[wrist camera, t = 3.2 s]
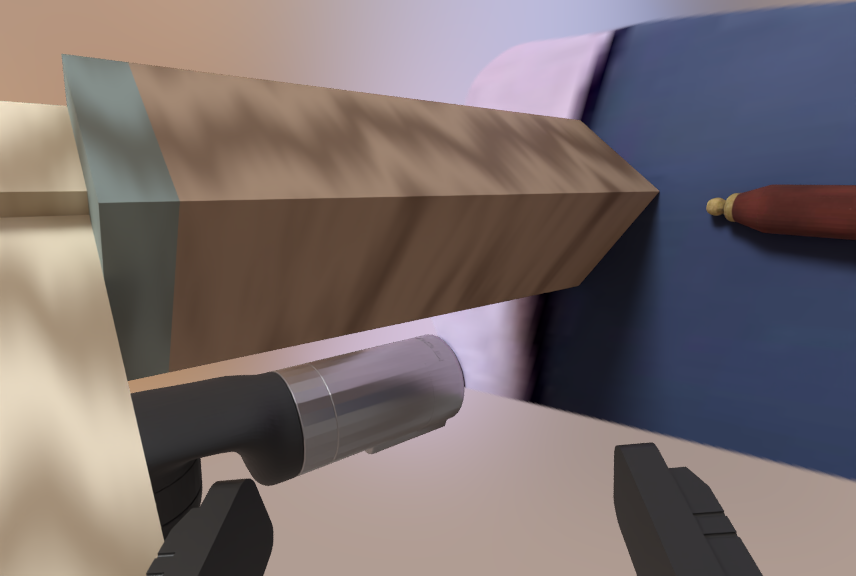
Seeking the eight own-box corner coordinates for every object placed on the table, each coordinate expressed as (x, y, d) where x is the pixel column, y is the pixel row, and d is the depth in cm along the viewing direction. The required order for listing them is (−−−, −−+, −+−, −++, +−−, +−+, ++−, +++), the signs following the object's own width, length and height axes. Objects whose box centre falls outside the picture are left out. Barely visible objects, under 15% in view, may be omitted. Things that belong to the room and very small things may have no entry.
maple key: (173, 560, 10) (-208, 722, 7) (165, 617, 13) (-98, 744, 10) (67, 106, 18) (-131, 91, 15) (78, 209, 21) (-84, 213, 18)
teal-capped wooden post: (659, 191, 31) (98, 202, 13) (578, 285, 37) (111, 384, 19) (580, 120, 35) (61, 53, 17) (518, 216, 41) (81, 242, 23)
